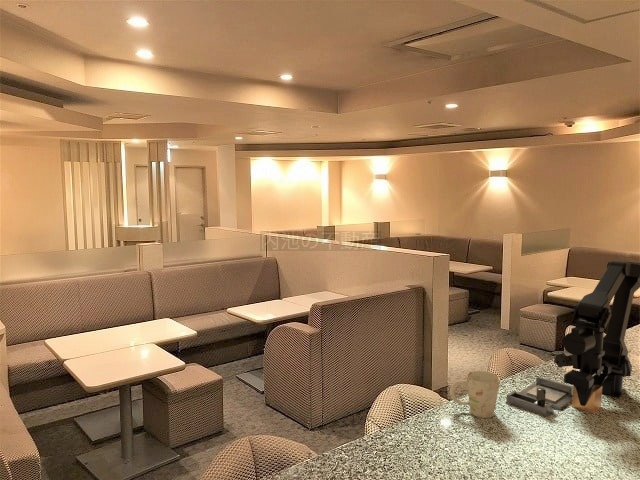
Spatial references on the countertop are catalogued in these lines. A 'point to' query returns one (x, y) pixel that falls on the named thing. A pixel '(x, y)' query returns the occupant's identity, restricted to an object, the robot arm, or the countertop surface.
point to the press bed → (551, 392)
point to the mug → (479, 393)
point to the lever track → (528, 403)
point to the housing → (589, 400)
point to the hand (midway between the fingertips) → (586, 402)
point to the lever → (540, 397)
